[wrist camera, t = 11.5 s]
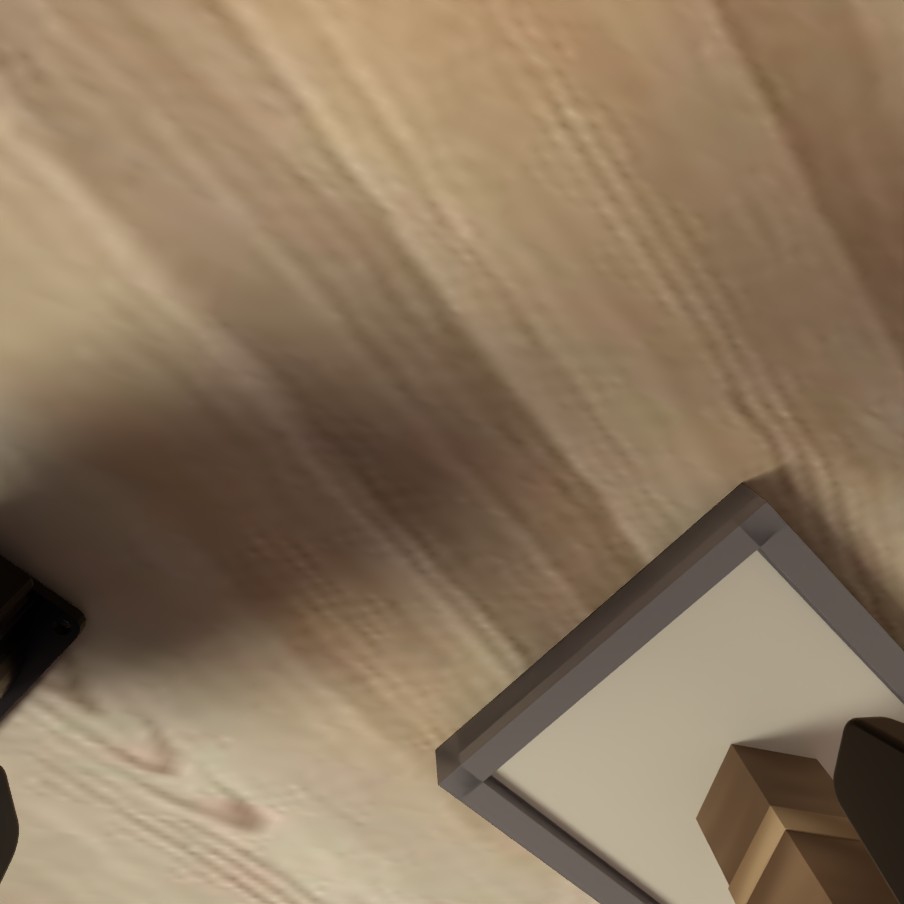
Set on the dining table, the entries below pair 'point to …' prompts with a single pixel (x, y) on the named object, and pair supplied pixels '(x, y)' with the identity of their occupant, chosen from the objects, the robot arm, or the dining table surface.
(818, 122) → the dining table surface
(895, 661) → the felt tray
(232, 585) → the dining table surface
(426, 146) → the dining table surface
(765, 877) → the wooden block
